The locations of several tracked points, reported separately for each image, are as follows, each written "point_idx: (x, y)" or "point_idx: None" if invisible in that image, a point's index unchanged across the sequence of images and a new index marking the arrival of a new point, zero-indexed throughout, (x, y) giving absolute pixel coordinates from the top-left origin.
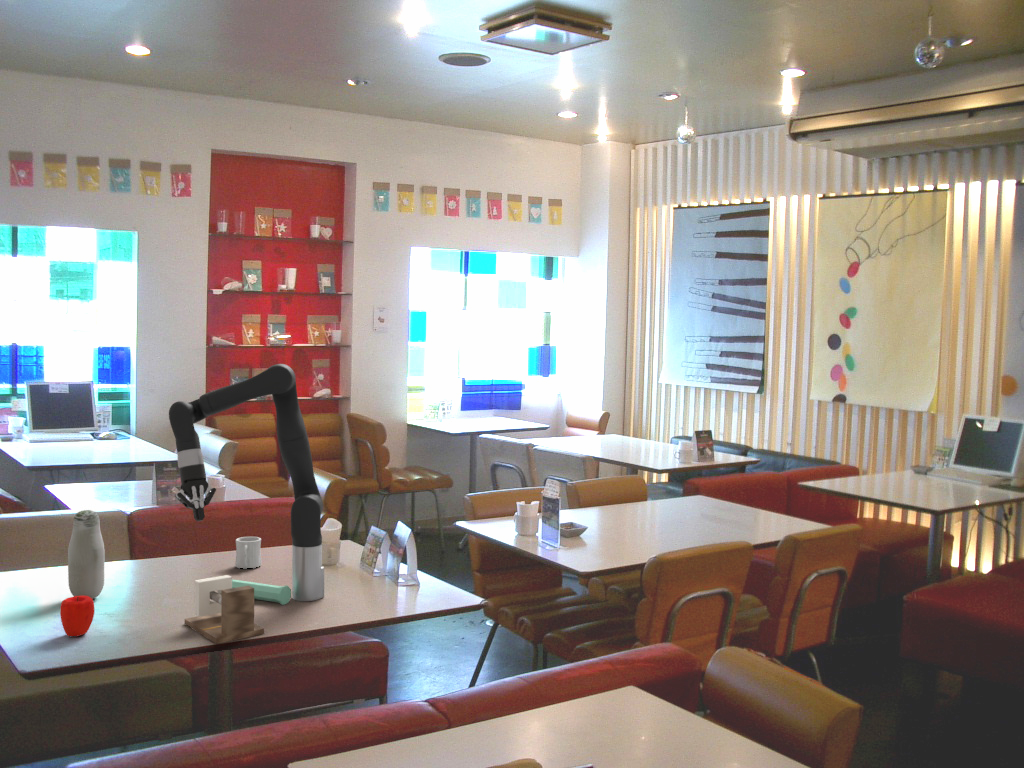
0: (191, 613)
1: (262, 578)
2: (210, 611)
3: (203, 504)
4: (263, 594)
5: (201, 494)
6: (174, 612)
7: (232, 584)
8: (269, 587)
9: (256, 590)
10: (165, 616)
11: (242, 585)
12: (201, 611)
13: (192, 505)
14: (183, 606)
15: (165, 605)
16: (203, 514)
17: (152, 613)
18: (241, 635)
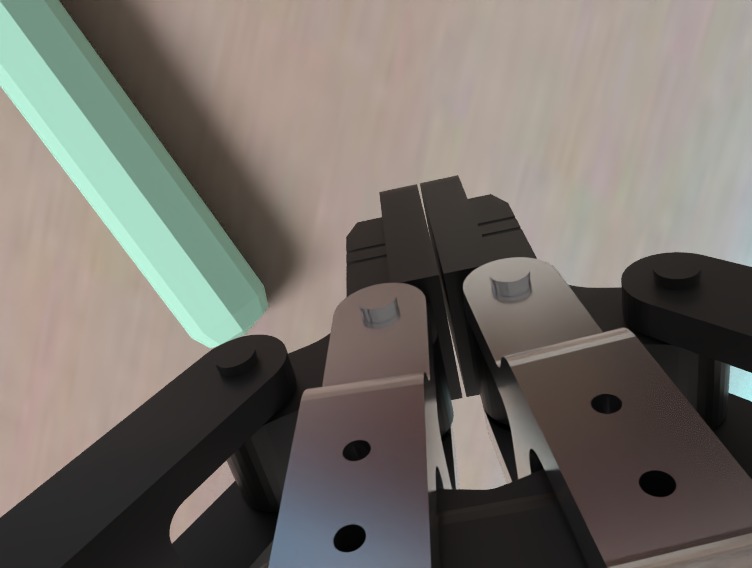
0: (497, 10)
1: (22, 496)
2: None
3: (340, 328)
4: (73, 31)
5: (367, 483)
6: (573, 75)
7: (207, 249)
8: (16, 14)
9: (99, 76)
10: (637, 18)
11: (158, 188)
12: None
13: (629, 283)
14: (500, 170)
15: (578, 233)
16: (364, 250)
17: (680, 112)
18: None
